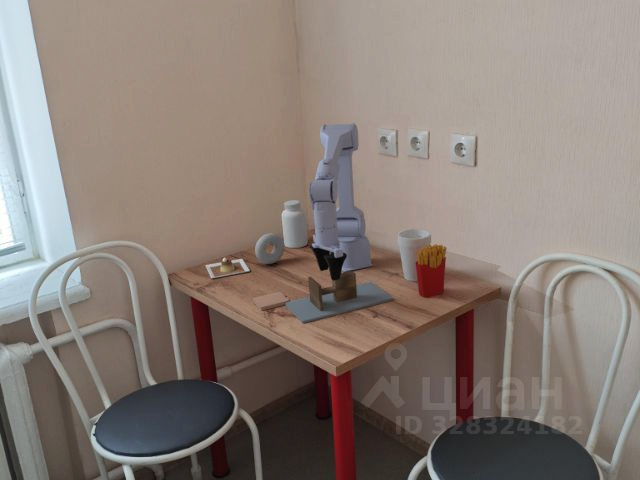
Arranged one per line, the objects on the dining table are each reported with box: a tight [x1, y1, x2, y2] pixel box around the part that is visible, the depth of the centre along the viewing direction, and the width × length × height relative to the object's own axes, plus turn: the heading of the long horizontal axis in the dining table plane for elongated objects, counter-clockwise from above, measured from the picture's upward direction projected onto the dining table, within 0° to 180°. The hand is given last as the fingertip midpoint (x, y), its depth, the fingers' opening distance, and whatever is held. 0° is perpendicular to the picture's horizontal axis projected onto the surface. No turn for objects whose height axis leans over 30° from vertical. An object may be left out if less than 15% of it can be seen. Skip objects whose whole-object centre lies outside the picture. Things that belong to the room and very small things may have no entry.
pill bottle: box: [281, 199, 308, 249], centre depth 218 cm, size 8×8×15 cm
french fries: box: [416, 244, 447, 299], centre depth 173 cm, size 9×4×13 cm, turn 121°
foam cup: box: [397, 228, 432, 282], centre depth 185 cm, size 10×9×13 cm
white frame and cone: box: [205, 257, 251, 279], centre depth 203 cm, size 12×12×5 cm
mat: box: [284, 281, 394, 324], centre depth 174 cm, size 26×13×1 cm, turn 113°
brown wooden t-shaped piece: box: [307, 270, 357, 311], centre depth 173 cm, size 12×7×7 cm, turn 113°
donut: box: [254, 232, 285, 265], centre depth 204 cm, size 10×4×10 cm, turn 122°
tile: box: [252, 291, 290, 311], centre depth 178 cm, size 2×7×8 cm
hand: (329, 274), depth 171 cm, fingers open, 7 cm apart
